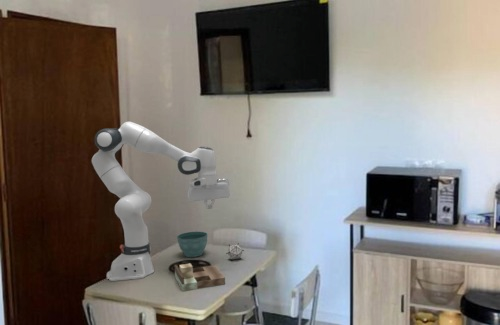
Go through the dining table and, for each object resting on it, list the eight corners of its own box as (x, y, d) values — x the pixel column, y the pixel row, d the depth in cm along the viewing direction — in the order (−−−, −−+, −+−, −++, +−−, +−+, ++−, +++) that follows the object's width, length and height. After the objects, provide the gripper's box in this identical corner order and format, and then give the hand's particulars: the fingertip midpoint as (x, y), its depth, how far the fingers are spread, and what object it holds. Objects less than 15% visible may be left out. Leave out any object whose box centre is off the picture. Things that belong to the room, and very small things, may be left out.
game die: (238, 267, 256) (241, 255, 249) (222, 261, 257) (225, 249, 250) (244, 254, 262) (247, 242, 256) (229, 248, 264) (231, 236, 257)
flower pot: (174, 253, 272) (173, 234, 271) (202, 248, 279) (201, 229, 278) (183, 261, 258) (182, 241, 257) (213, 256, 265) (211, 235, 263)
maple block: (182, 279, 223) (181, 268, 222) (180, 275, 228) (179, 264, 227) (193, 277, 224) (192, 266, 224) (191, 273, 229) (190, 263, 229)
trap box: (182, 291, 217) (181, 277, 216) (175, 277, 235) (174, 264, 234) (225, 284, 222) (224, 271, 222) (214, 271, 240) (214, 259, 240)
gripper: (226, 177, 248) (228, 204, 250) (185, 181, 242) (187, 209, 244) (230, 179, 242) (232, 207, 244) (188, 183, 236) (190, 212, 238)
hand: (209, 208), depth 244 cm, fingers closed
